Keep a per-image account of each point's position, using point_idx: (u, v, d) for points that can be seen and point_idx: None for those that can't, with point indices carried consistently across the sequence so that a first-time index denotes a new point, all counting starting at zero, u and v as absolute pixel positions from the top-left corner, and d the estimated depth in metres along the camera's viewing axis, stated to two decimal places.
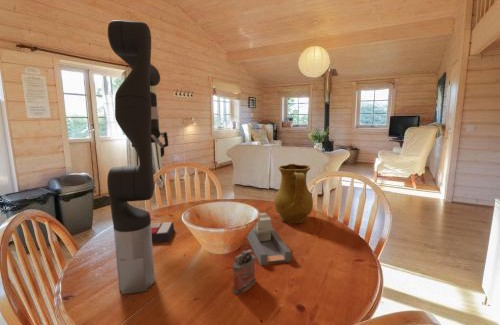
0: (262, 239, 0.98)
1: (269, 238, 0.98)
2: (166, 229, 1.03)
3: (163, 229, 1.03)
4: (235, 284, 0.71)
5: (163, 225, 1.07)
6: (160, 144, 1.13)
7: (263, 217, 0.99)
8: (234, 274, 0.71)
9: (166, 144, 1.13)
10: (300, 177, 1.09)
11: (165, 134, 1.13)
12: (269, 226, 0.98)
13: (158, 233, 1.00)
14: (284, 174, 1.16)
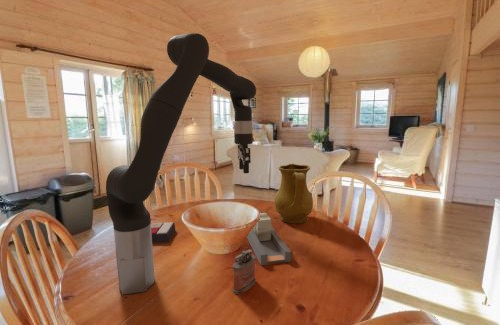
0: (262, 239, 0.98)
1: (269, 238, 0.98)
2: (166, 229, 1.03)
3: (163, 229, 1.03)
4: (235, 284, 0.71)
5: (164, 225, 1.07)
6: None
7: (263, 217, 0.99)
8: (234, 274, 0.71)
9: None
10: (300, 177, 1.09)
11: None
12: (269, 226, 0.98)
13: (158, 233, 1.00)
14: (284, 174, 1.16)
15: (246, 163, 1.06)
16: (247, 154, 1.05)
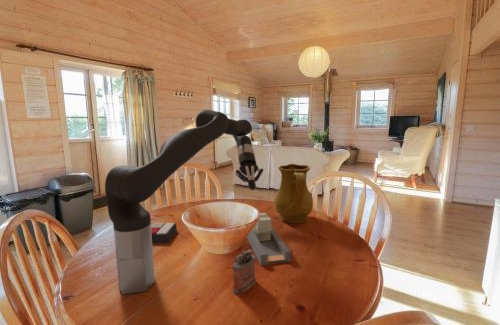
0: (262, 239, 0.98)
1: (269, 238, 0.98)
2: (166, 230, 1.02)
3: (163, 230, 1.03)
4: (235, 284, 0.71)
5: (165, 225, 1.07)
6: None
7: (263, 217, 0.99)
8: (234, 274, 0.71)
9: None
10: (300, 177, 1.09)
11: None
12: (269, 226, 0.98)
13: (157, 234, 1.00)
14: (284, 174, 1.16)
15: (256, 179, 1.17)
16: (260, 174, 1.19)
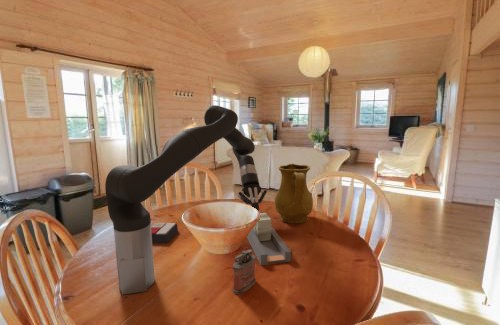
0: (262, 239, 0.98)
1: (269, 238, 0.98)
2: (166, 230, 1.02)
3: (163, 230, 1.02)
4: (235, 284, 0.71)
5: (166, 226, 1.07)
6: None
7: (263, 217, 0.99)
8: (234, 274, 0.71)
9: None
10: (300, 177, 1.09)
11: None
12: (269, 226, 0.98)
13: (157, 234, 1.00)
14: (284, 174, 1.16)
15: (259, 202, 1.13)
16: (264, 196, 1.15)
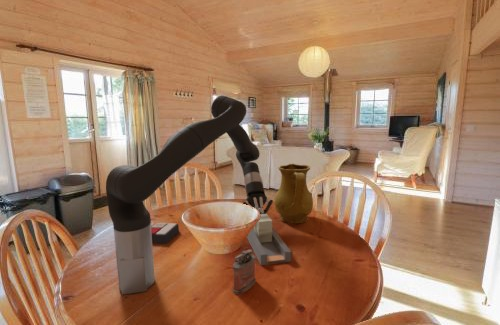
0: (263, 240, 0.97)
1: (270, 240, 0.97)
2: (166, 230, 1.02)
3: (163, 230, 1.02)
4: (235, 284, 0.71)
5: (166, 226, 1.06)
6: None
7: (264, 218, 0.98)
8: (234, 274, 0.71)
9: None
10: (300, 177, 1.09)
11: None
12: (270, 227, 0.97)
13: (157, 234, 1.00)
14: (284, 174, 1.16)
15: (265, 212, 1.07)
16: (269, 206, 1.09)
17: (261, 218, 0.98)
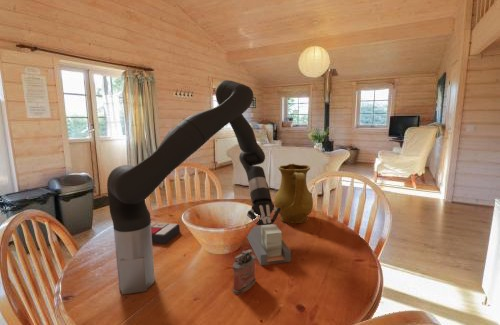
0: (271, 255, 0.87)
1: (279, 253, 0.87)
2: (166, 231, 1.01)
3: (163, 230, 1.02)
4: (235, 284, 0.71)
5: (167, 226, 1.06)
6: None
7: (273, 230, 0.88)
8: (234, 274, 0.71)
9: None
10: (300, 177, 1.09)
11: None
12: (280, 239, 0.87)
13: (156, 234, 0.99)
14: (284, 174, 1.16)
15: (272, 222, 0.97)
16: None
17: (269, 229, 0.88)
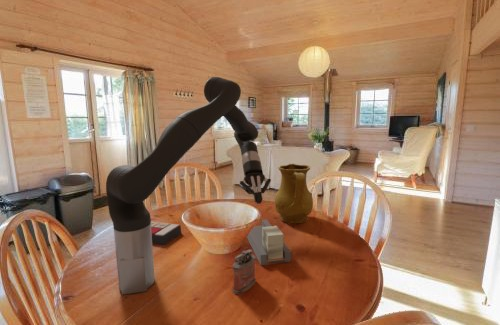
0: (273, 257, 0.86)
1: (280, 256, 0.86)
2: (165, 231, 1.01)
3: (163, 231, 1.01)
4: (235, 284, 0.71)
5: (168, 227, 1.06)
6: None
7: (274, 232, 0.87)
8: (234, 274, 0.71)
9: None
10: (300, 177, 1.09)
11: None
12: (281, 242, 0.85)
13: (156, 234, 0.99)
14: (284, 174, 1.16)
15: (263, 191, 1.04)
16: (267, 185, 1.06)
17: (270, 231, 0.87)
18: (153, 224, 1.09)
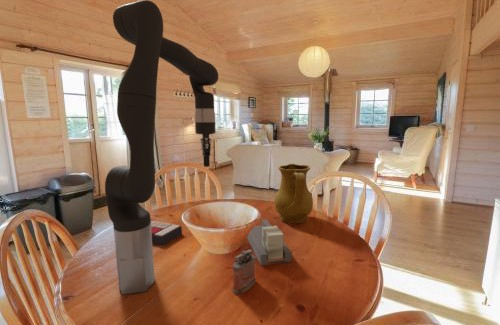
0: (273, 257, 0.86)
1: (280, 256, 0.86)
2: (165, 232, 1.00)
3: (163, 231, 1.01)
4: (235, 284, 0.71)
5: (169, 227, 1.05)
6: None
7: (274, 232, 0.87)
8: (234, 274, 0.71)
9: (208, 151, 1.07)
10: (300, 177, 1.09)
11: None
12: (281, 242, 0.85)
13: (155, 234, 0.99)
14: (284, 174, 1.16)
15: (206, 156, 1.02)
16: (207, 149, 0.99)
17: (270, 231, 0.87)
18: (155, 224, 1.09)
